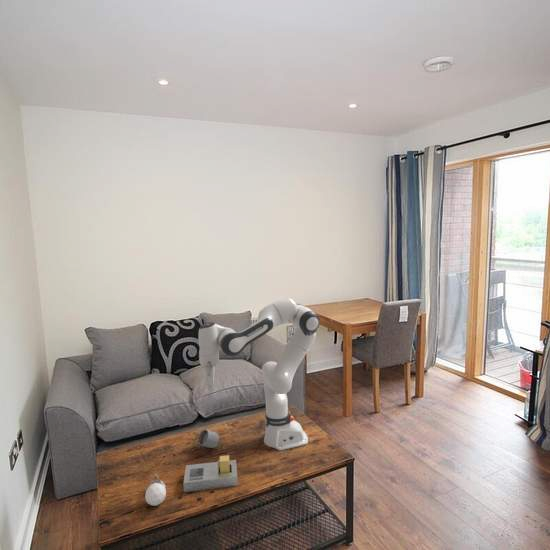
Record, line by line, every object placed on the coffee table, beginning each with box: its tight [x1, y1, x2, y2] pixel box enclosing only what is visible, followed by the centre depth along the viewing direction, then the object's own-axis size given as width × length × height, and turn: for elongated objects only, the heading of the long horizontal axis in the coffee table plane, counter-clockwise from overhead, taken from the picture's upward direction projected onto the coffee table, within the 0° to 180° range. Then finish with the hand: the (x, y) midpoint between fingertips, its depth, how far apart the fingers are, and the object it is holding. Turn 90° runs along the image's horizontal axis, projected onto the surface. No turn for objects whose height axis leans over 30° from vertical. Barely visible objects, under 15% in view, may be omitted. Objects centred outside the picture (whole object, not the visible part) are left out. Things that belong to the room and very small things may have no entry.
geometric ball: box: [144, 482, 167, 507], centre depth 148 cm, size 8×8×8 cm
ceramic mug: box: [197, 428, 220, 449], centre depth 187 cm, size 11×8×8 cm
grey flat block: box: [183, 459, 239, 493], centre depth 162 cm, size 22×12×4 cm, turn 99°
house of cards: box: [147, 473, 167, 489], centre depth 153 cm, size 9×9×8 cm
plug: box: [217, 454, 230, 474], centre depth 162 cm, size 5×4×9 cm
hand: (210, 388), depth 172 cm, fingers open, 8 cm apart
